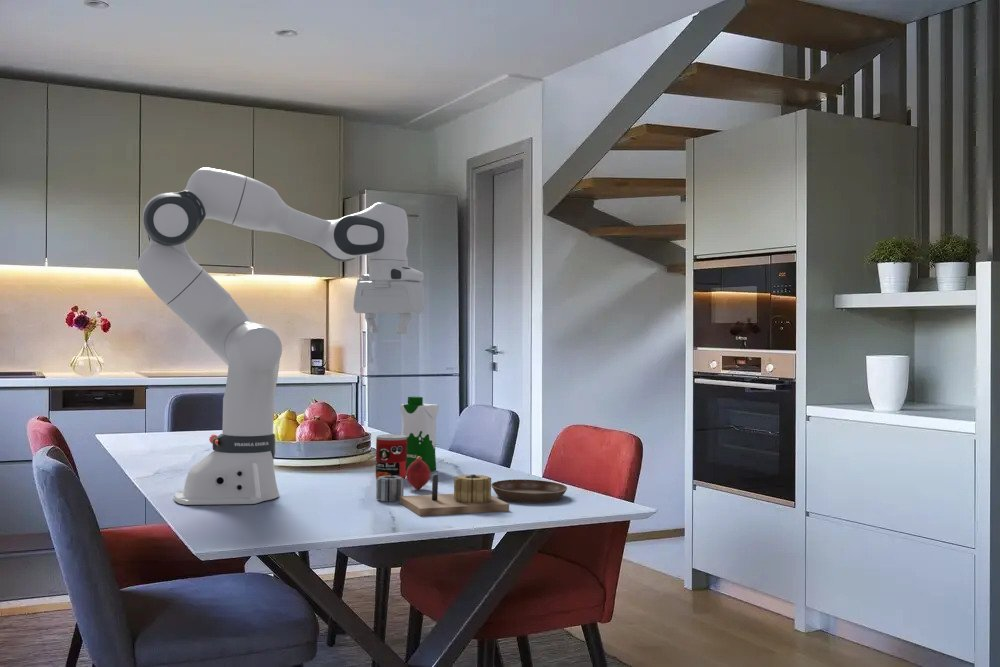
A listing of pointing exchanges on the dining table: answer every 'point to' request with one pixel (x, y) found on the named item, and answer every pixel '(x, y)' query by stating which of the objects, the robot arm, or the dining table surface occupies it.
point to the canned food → (391, 455)
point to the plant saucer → (529, 490)
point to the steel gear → (389, 488)
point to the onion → (418, 473)
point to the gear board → (457, 498)
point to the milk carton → (420, 430)
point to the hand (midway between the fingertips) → (387, 333)
